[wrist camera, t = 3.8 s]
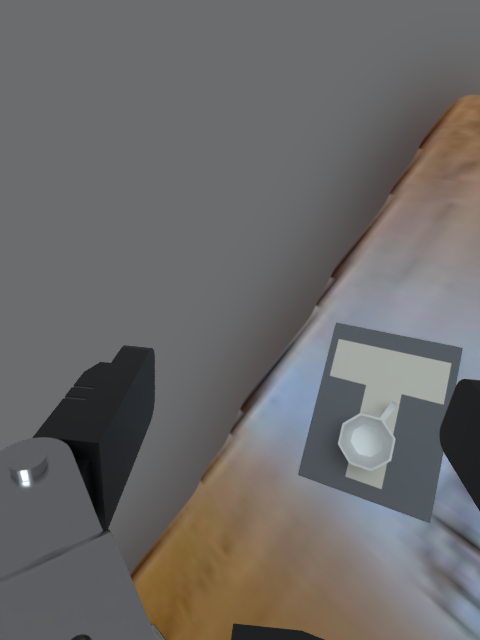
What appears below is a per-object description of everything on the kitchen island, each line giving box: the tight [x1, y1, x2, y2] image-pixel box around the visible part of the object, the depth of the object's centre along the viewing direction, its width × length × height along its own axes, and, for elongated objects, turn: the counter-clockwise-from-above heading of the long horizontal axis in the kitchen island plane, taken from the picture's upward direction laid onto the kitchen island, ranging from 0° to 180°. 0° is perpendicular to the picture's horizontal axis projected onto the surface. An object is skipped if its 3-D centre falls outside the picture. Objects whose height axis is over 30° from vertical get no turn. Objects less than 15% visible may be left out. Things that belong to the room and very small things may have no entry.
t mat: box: [298, 323, 463, 523], centre depth 56 cm, size 24×18×1 cm
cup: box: [338, 401, 398, 471], centre depth 52 cm, size 7×10×8 cm
